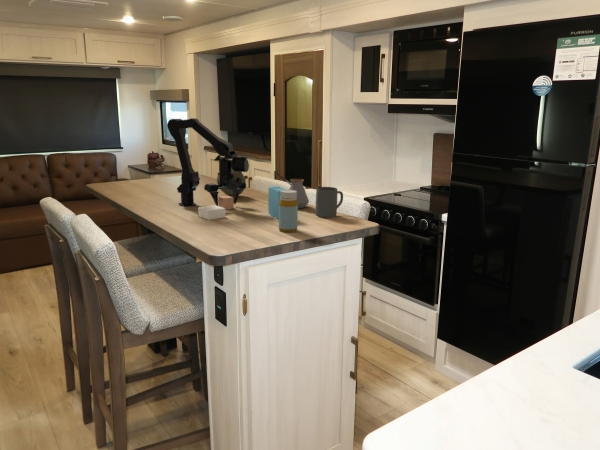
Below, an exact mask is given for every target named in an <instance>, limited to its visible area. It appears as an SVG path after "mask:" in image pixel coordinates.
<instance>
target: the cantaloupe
mask: <svg viewBox="0 0 600 450" xmlns="http://www.w3.org/2000/svg"><path fill="white" fill-rule="evenodd" d="M232 173H233V175H234V178H242V182H245V183H246V178H245V175H244V174H243V172H236V171H234V170H232ZM218 182H219V175H218V174H217V176H216V183H217V184H216V185H219V184H218ZM222 187H224V186H222ZM219 190H220V191H221V192H222V193H223V194H224V195H225V196H230V197H233V190H230V189H228V188H223V189H219ZM244 191H245V189H244V190H243V191H241V192H240V194H239V195H241V194H243V192H244Z"/></svg>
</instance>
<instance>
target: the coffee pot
mask: <svg viewBox="0 0 600 450" xmlns="http://www.w3.org/2000/svg"><path fill="white" fill-rule="evenodd" d="M273 176H278V177H279V178H280V179H282V181H284V182H285V183H287V184H288V185H289V189H288V190H295V191H297V197H296V198H297V203H298V209H304V208H306V206H308V204H309V202H310V199H309V197H308V195H307V193H306V189H305V188H304V185H303V183H304V181H305V179H303V178H291V179H289V180H290V181H289V180H287V179H286V178H285V177H284V175H282V174H280V173H278V171H275V172H274V173H273Z"/></svg>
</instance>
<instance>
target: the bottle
mask: <svg viewBox="0 0 600 450" xmlns="http://www.w3.org/2000/svg"><path fill="white" fill-rule="evenodd" d="M296 197H297V191H295V190H289V189H286V190H281V191H280V202H279V219H278V230H279V232H282V231H283V233H294V232H293V231H295V232H296V231H297V230H298V215H299V214H298V213H299V212H298V211H299V210H298V209H299V208H298V203H297V198H296Z"/></svg>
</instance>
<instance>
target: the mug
mask: <svg viewBox="0 0 600 450" xmlns="http://www.w3.org/2000/svg"><path fill="white" fill-rule="evenodd" d="M315 192H316V193H315V216H316V217H317V216H318V217H317V218H321V217H326V218H325V219H329V218H328V217H334V218H336V217H337V211H338V209H339V208H340V207H341V205H342V203H343V201H344V193H343V191H341V190H338V188H337V187H334V186H333V187H332V186H319V187H316V191H315ZM338 194H339V195H340V200H339V202H338ZM335 216H336V217H335Z"/></svg>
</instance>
